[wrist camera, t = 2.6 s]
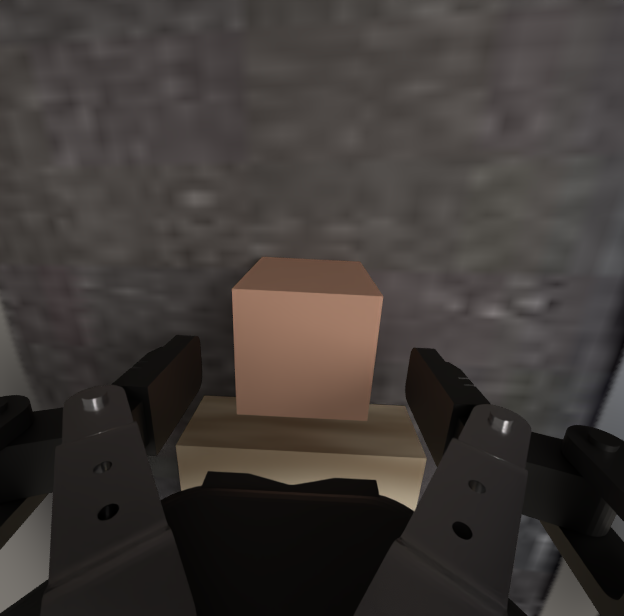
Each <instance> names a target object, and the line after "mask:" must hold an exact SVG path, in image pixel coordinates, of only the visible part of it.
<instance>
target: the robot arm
mask: <svg viewBox="0 0 624 616" xmlns="http://www.w3.org/2000/svg"><path fill="white" fill-rule="evenodd" d="M201 383H202V361H201V347H200V340H199V337H198V336H184V335H176V336H175V337H174V338H173V339H172V340H171V341H169V342H168V343H167V344H166V345H165V346H164V347H160V348H158V349H156V350H154V351H151V352H149V353H148V354H146V355H145V356H144V357H143V358H142V359H141V360H140V361H139V362H137V363H136V364H135V365H134V366H133V367H132V368H130V369H129V370H128V371H127V372H126V373H124V374H123V375H122V376H121V377H120V378H119V379H118V380H116V381H115V382H114V383H113V384H112V385H101V386H95V387H91V388H88V389H85V390H82V391H80V392H78V393H76V394H74V395H73V396H71V397H70V398H69V399H67V401H66V402H65V403H64V405H63V408H57V409H49V410H42V411H34V412H33V411H32V408H31V404H30V401H29V399H28V398H27V397H25V396H20V395H11V396H3V397H0V549H1V548H2V547H3V546H4V545H5V544H6V542H7V541H8V540H9V539H10V538H11V537H12V535H13V534H14V533H15V532H16V531H17V530H18V528H19V527H20V526H21V525H22V524H23V523H24V521H25V520H26V519H27V518H28V517H29V516H30V515H31V513H32V512H33V511H34V510H35V509H36V508H37V507H38V505H39V504H40V503H41V502H42V501H43V500H44V498H45V497H46V496H47V495H48V493H52V492H53V503H52V524H51V543H50V563H49V579H48V580H46V581H45V582H44V583H42V584H41V585H39V586H38V587H37V588H35V589H34V590H32V591H31V592H30V593H28V594H27V595H25V596H24V597H23V598H21V599H20V600H19V601H17V602H16V603H14V604H13V605H11V606H10V607H9V608H7V609H6V610H4V611H3V612H2V613H0V616H527V615H526V614H525V613H524V612H523V611H522V610H521V609H520V608H519V607H518V606H517V605H516V604H515V603H514V602H513V601H511V600H510V599H509V592H510V585H511V579H512V573H513V566H514V560H515V553H516V547H517V541H518V534H519V528H520V522H521V515H522V514H523V515H526V516H529V517H532V518H535V519H538V520H540V522H541V524H542V525H543V527H544V528H545V530H546V532H547V533H548V535H549V536H550V538H551V539H552V541H553V542H554V544H555V546H556V547H557V549H558V550H559V552H560V553H561V555H562V556H563V558H564V559H565V561H566V563H567V564H568V566H569V567H570V569H571V570H572V572H573V573H574V575H575V577H576V578H577V580H578V581H579V583H580V584H581V586H582V587H583V589H584V591H585V592H586V594H587V595H588V597H589V598H590V600H591V601H592V603H593V605H594V606H595V608H596V609H597V611H598V612H599V614H600V615H601V616H624V542H623V541H622V539H621V538H620V537H619V536H618V535H617V534H616V532H615V531H614V530H613V529H612V528H611V525H612V523H613V521H614V519H615V516H616V514H617V515H618V516H619V517H620V518H621V519H622V520H623V521H624V441H623V440H621V439H619V438H618V437H616V436H614V435H612V434H610V433H607V432H605V431H602V430H599V429H596V428H593V427H589V426H583V425H573V426H570V427H568V428H567V430H566V433H565V436H564V439H559V438H555V437H550V436H546V435H542V434H538V433H534V432H531V427H530V425H529V423H528V422H527V421H526V420H525V419H524V418H523V417H521V416H520V415H518V414H517V413H515V412H513V411H511V410H509V409H506V408H503V407H500V406H496V405H491V404H490V403H489V401H488V400H487V399H486V398H485V397H484V396H483V395H482V393H481V392H480V391H479V390H478V389H477V388H476V387H475V386H474V384H473V383H472V382H471V381H470V380H469V379H468V377H467V376H466V375H465V374H464V373H463V372H462V370H461V369H459V368H457V367H456V366H454V365H453V364H451V363H449V362H445V361H444V360H443V358H442V357H441V356H440V355H439V353H438V352H437V351H436V350H435V349H430V348H413V349H412V351H411V355H410V361H409V367H408V373H407V379H406V386H405V393H406V400H407V403H408V405H409V407H410V409H411V411H412V413H413V416H414V418H415V420H416V422H417V424H418V427H419V429H420V431H421V433H422V435H423V438H424V440H425V442H426V444H427V446H428V448H429V451H430V453H431V455H432V457H433V459H434V462H435V464H436V466H437V469H436V471H435V473H434V475H433V477H432V478H431V480H430V482H429V484H428V486H427V488H426V490H425V492H424V494H423V496H422V498H421V499H420V501H419V503H418V505H417V507H416V509H415V511H413V510H412V509H410V508H409V507H407V506H405V505H404V504H402V503H400V502H398V501H396V500H393V499H391V498H388V497H386V496H383V495H379V490H378V485H377V481H376V480H370V479H350V478H330V479H324V480H319V481H313V482H307V483H301V484H295V485H289V484H285V483H281V482H278V481H274V480H271V479H267V478H264V477H260V476H257V475H253V474H250V473H235V472H215V471H208V472H207V474H206V476H205V479H204V481H203V484H202V485H201V486H196V487H192V488H189V489H185V490H182V491H180V492H177V493H175V494H172V495H170V496H168V497H166V498H164V499H162V500H161V501H160V498H159V494H158V491H157V488H156V484H155V481H154V478H153V474H152V471H151V468H150V464H149V461H148V458H147V455H150V456H157V455H158V453H159V452H160V450H161V448H162V447H163V445H164V444H165V442H166V441H167V439H168V438H169V436H170V435H171V433H172V431H173V430H174V428H175V427H176V425H177V424H178V422H179V421H180V419H181V417H182V416H183V414H184V413H185V411H186V410H187V408H188V407H189V405H190V403H191V402H192V400H193V399H194V397H195V396H196V394H197V393H198V391H199V389H200V386H201Z"/></svg>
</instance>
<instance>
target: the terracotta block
mask: <svg viewBox="0 0 624 616" xmlns="http://www.w3.org/2000/svg"><path fill="white" fill-rule="evenodd" d="M382 302H383V295H382V294H381V292H380V291H379V289H378V288H377V286H376V285H375V283H374V282H373V280H372V279H371V277H370V276H369V274H368V273H367V271H366V270H365V268H364V267H363V265H362V264H361V262H354V261H335V260H315V259H295V258H276V257H262V258H261V259H260V260H259V261H258V262H257V263H256V264H255V265H254V266H253V267H252V268H251V269H250V270H249V271H248V272H247V273H246V274H245V276H244V277H243V278H242V279H241V280H240V281H239V282H238V283H237V284H236V285H235V286H234V287H233V288H232V304H233V329H234V355H235V380H236V406H237V414H240V415H259V416H279V417H298V418H318V419H337V420H357V421H367V418H368V411H369V403H370V395H371V387H372V380H373V372H374V364H375V356H376V348H377V341H378V333H379V325H380V317H381V310H382Z"/></svg>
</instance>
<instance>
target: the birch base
mask: <svg viewBox="0 0 624 616" xmlns="http://www.w3.org/2000/svg"><path fill="white" fill-rule="evenodd" d="M176 451H177V460H178V468H179V476H180V484H181V491H182V490H185V489H189V488H192V487H196V486H201V485H202V484H203V481H204V479H205V476H206V474H207V472H208V471H215V472H235V473H250V474H253V475H257V476H260V477H264V478H267V479H271V480H274V481H278V482H281V483H285V484H289V485H295V484H301V483H307V482H313V481H319V480H324V479H330V478H350V479H370V480H376V481H377V485H378V490H379V495H383V496H386V497H388V498H391V499H393V500H396V501H398V502H400V503H402V504H404V505H405V506H407V507H409V508H410V509H412V510H413V511H415V509H416V506H417V501H418V496H419V492H420V487H421V482H422V478H423V473H424V469H425V464H426V459H427V458H426V456H425V453H424V451H423V448H422V446H421V444H420V441H419V439H418V436H417V434H416V432H415V429H414V427H413V424H412V422H411V420H410V417H409V415H408V412H407V410H406V407H405V406H397V405H378V404H369V411H368V418H367V421H357V420H337V419H318V418H298V417H279V416H259V415H240V414H237V406H236V397H224V396H205V395H204V397H203V399H202V401H201V402H200V404H199V406H198V408H197V409H196V411H195V413H194V415H193V416H192V418H191V420H190V421H189V423H188V425H187V427H186V428H185V430H184V432H183V434H182V435H181V437H180V439H179V440H178V442H177V444H176Z"/></svg>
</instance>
